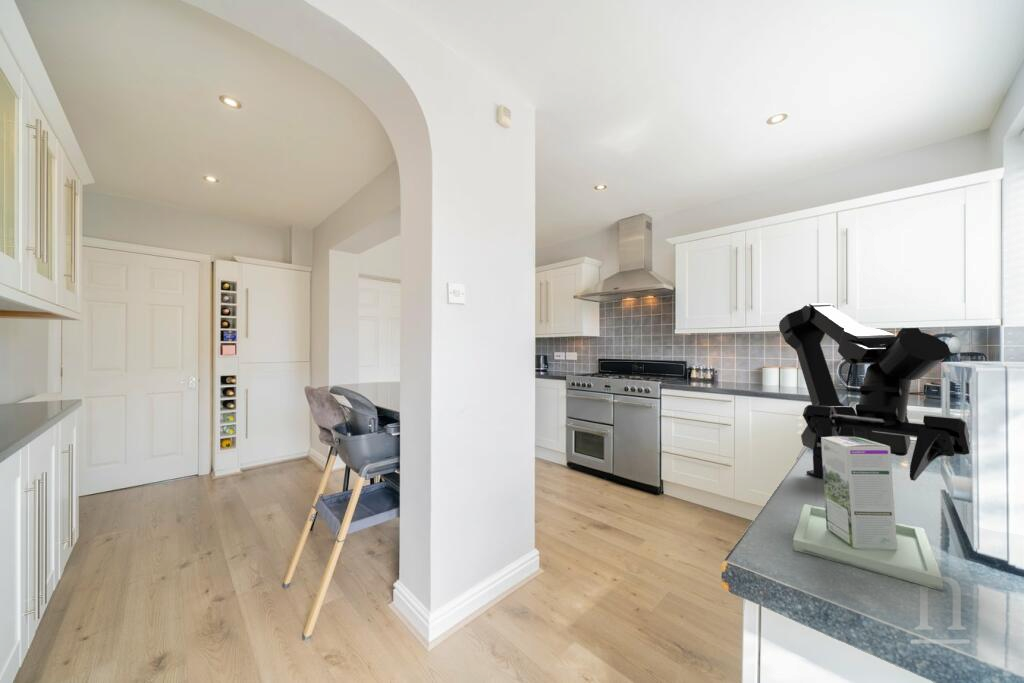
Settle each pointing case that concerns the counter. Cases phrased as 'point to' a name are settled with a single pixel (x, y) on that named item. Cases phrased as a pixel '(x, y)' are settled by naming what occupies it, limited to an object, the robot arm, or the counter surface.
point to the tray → (903, 564)
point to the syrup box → (859, 492)
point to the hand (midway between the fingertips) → (868, 470)
